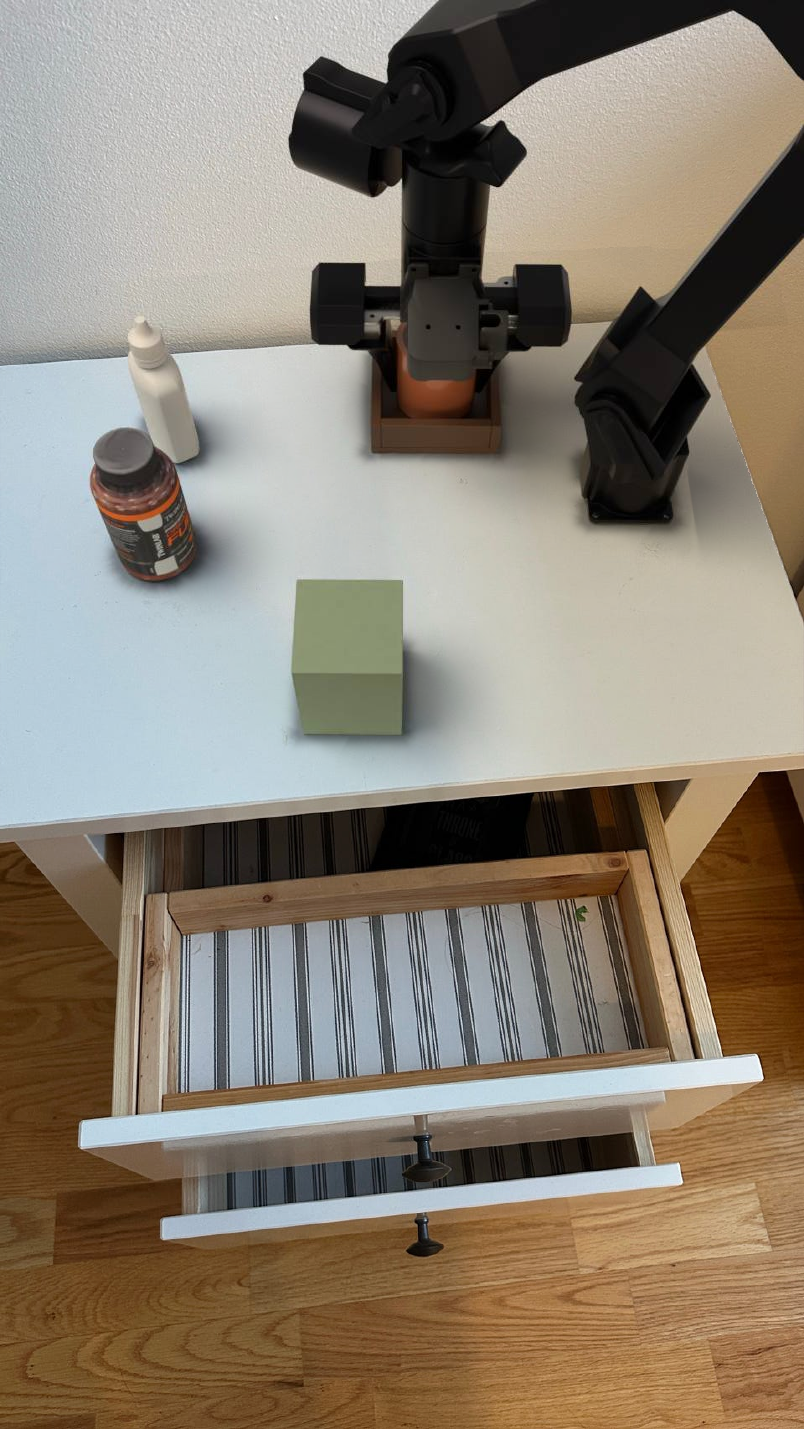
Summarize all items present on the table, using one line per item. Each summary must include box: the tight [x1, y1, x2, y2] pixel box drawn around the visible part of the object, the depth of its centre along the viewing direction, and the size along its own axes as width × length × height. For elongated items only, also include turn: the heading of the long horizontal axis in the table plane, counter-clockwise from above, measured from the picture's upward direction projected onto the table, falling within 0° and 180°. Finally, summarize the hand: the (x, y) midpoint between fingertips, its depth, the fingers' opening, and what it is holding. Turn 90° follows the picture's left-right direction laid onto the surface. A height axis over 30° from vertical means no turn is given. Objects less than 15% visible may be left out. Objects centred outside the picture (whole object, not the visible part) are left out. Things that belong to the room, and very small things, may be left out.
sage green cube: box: [290, 578, 404, 736], centre depth 65 cm, size 7×7×9 cm
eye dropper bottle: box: [127, 315, 200, 464], centre depth 74 cm, size 4×6×12 cm
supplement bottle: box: [89, 426, 198, 582], centre depth 69 cm, size 6×6×11 cm
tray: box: [370, 329, 503, 454], centre depth 79 cm, size 10×10×3 cm
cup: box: [396, 322, 477, 419], centre depth 77 cm, size 6×6×6 cm
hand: (435, 388), depth 79 cm, fingers closed on cup, 6 cm apart
